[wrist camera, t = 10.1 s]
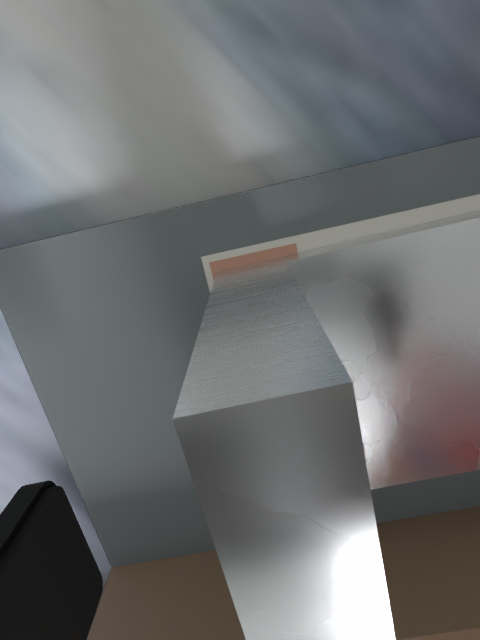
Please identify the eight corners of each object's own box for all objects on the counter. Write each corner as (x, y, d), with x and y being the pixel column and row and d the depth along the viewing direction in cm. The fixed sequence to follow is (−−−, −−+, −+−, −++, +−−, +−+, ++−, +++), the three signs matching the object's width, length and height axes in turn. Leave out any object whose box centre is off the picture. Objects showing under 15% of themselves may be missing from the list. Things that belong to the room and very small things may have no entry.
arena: (129, 570, 17) (86, 715, 13) (-3, 250, 13) (-144, 287, 8) (619, 489, 16) (780, 620, 11) (652, 95, 12) (940, 32, 7)
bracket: (272, 486, 15) (304, 815, 7) (216, 271, 12) (173, 419, 4) (531, 437, 14) (883, 745, 6) (528, 198, 11) (1103, 227, 4)
